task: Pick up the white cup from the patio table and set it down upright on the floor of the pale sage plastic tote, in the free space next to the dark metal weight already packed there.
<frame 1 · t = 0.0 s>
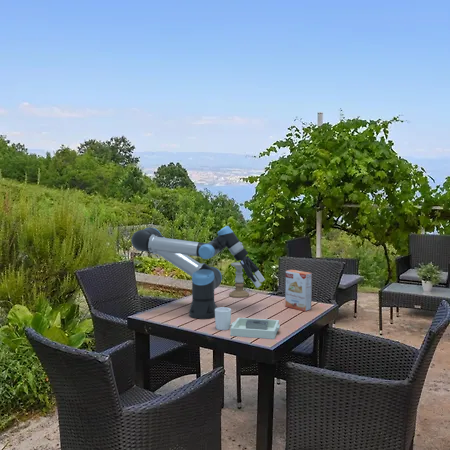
hand: (261, 283, 254), 15 cm above the table, tool tilted 35°, fingers open, 13 cm apart
candle holder: (239, 295, 292), on the table
weight: (256, 328, 223), point 1 cm above the table, touching tote
white cup: (223, 330, 224), on the table
cracker box: (298, 308, 261), on the table
tote: (255, 333, 219), on the table
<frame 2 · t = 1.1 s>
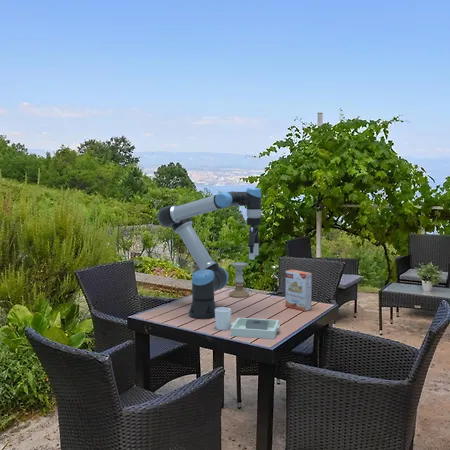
hand: (253, 257, 248), 31 cm above the table, tool pointing down, fingers open, 13 cm apart
nothing on the table moved.
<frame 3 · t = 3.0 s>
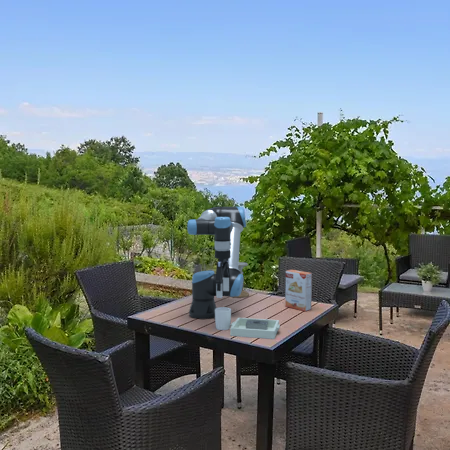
hand: (222, 294, 222), 17 cm above the table, tool pointing down, fingers open, 13 cm apart
nothing on the table moved.
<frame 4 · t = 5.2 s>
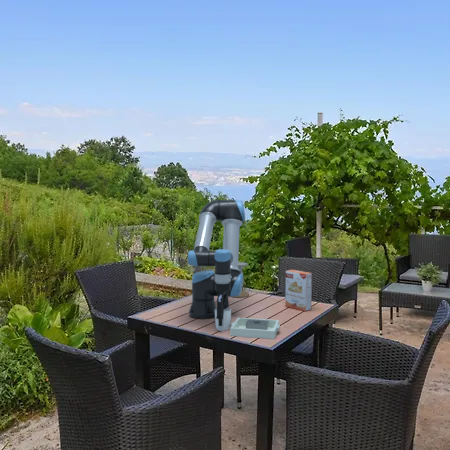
hand: (223, 329, 224), 0 cm above the table, tool pointing down, fingers closed on white cup, 7 cm apart
white cup: (223, 330, 224), on the table, touching gripper
everything else where it was.
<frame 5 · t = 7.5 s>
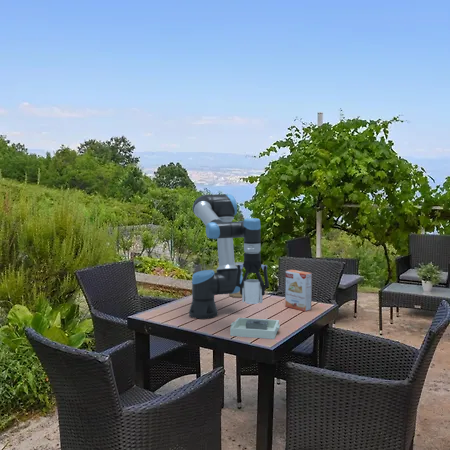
hand: (252, 301, 215), 16 cm above the table, tool pointing down, fingers closed on white cup, 7 cm apart
white cup: (252, 302, 215), point 15 cm above the table, touching gripper
everything else where it was.
when the fingers open (3 cm above the table, at t = 10.3 s): white cup drops 2 cm, resting on tote.
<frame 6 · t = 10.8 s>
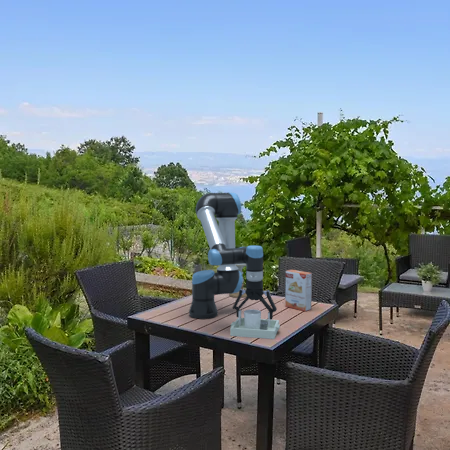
hand: (254, 325, 216), 5 cm above the table, tool pointing down, fingers open, 13 cm apart
white cup: (252, 333, 216), point 1 cm above the table, touching tote
everything else where it was.
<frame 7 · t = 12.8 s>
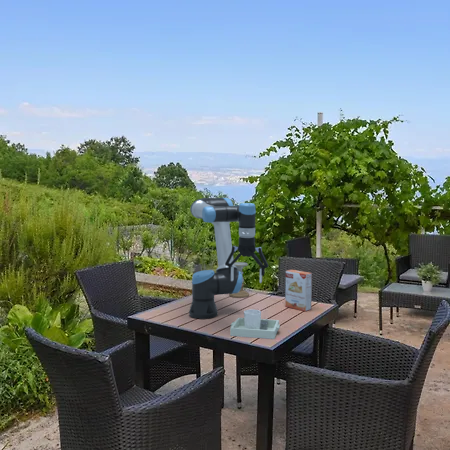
hand: (246, 281, 220), 24 cm above the table, tool pointing down, fingers open, 13 cm apart
nothing on the table moved.
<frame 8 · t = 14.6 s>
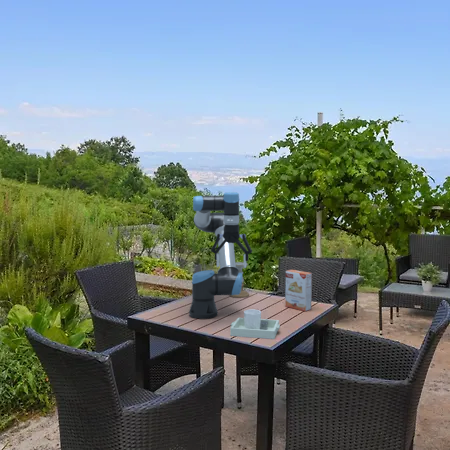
hand: (231, 267, 231), 29 cm above the table, tool pointing down, fingers open, 13 cm apart
nothing on the table moved.
at the end: white cup inside the target area on the tote (0.9 cm from its centre), point 0.8 cm above the tote's base; white cup tilted 0°; the gripper is holding nothing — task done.
